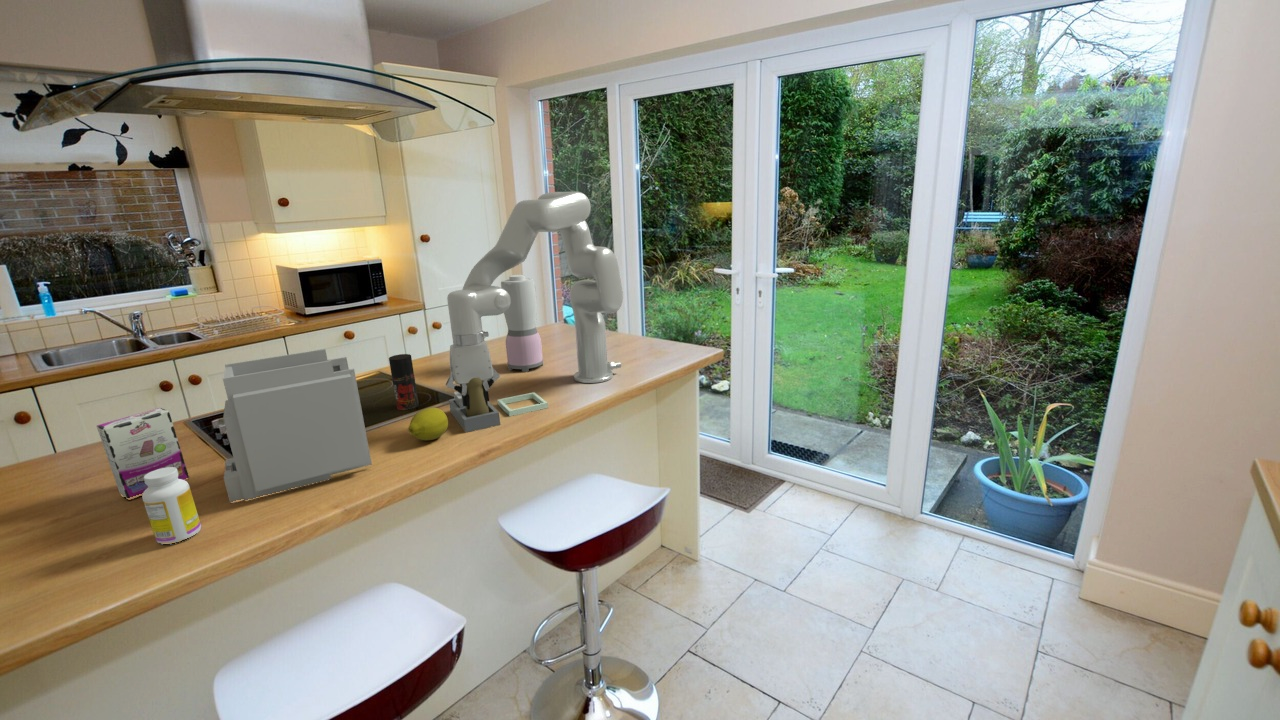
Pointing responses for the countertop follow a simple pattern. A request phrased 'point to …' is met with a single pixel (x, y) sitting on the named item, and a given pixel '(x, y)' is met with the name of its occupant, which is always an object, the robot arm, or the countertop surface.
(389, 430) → the countertop surface
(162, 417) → the candy bar box
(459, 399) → the twin plug
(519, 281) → the blender
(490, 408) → the grey hollow box
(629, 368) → the countertop surface
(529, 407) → the pale green square frame
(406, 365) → the deodorant
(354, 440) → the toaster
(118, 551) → the countertop surface
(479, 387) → the cork
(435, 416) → the lemon
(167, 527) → the supplement bottle
